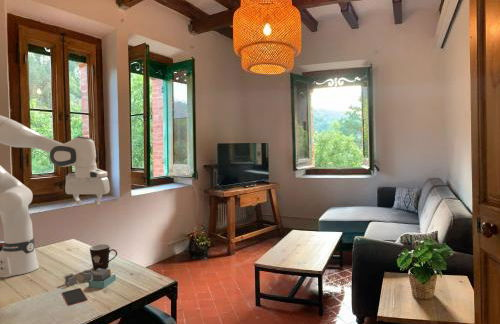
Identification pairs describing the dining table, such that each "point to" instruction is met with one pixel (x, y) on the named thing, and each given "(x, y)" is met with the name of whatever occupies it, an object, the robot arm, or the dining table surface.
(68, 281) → the clip
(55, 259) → the dining table surface
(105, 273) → the connector plug
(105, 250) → the coffee mug
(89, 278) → the clip
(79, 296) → the smartphone
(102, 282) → the dock
